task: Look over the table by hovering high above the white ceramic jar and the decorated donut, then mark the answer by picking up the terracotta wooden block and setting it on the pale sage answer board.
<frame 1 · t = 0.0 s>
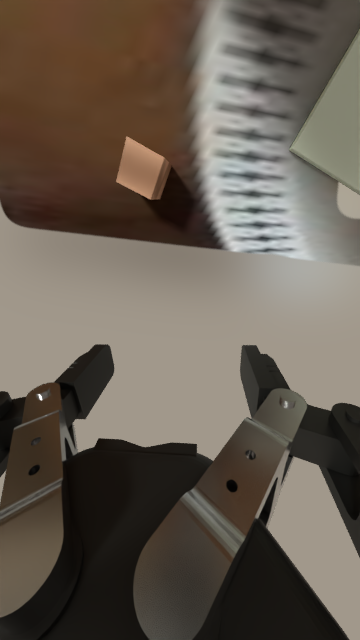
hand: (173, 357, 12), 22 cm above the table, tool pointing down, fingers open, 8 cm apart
terracotta block: (151, 175, 26), on the table
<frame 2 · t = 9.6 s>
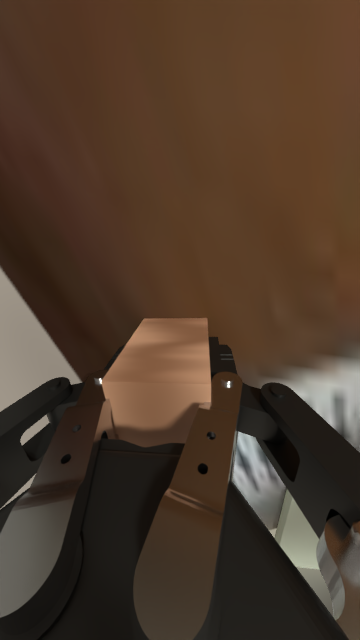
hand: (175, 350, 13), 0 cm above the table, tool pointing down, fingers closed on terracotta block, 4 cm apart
answer board: (355, 529, 19), on the table
terracotta block: (176, 346, 13), on the table, touching gripper
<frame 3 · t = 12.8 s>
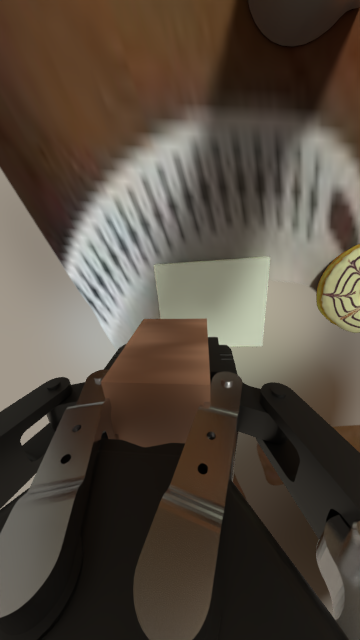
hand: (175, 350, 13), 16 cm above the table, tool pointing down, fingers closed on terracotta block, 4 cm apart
decorated donut: (356, 282, 25), on the table
answer board: (210, 305, 28), on the table
terracotta block: (176, 346, 14), point 15 cm above the table, touching gripper
when the fingers open (3 cm above the table, at t = 15.9 s): terracotta block drops 1 cm, resting on answer board.
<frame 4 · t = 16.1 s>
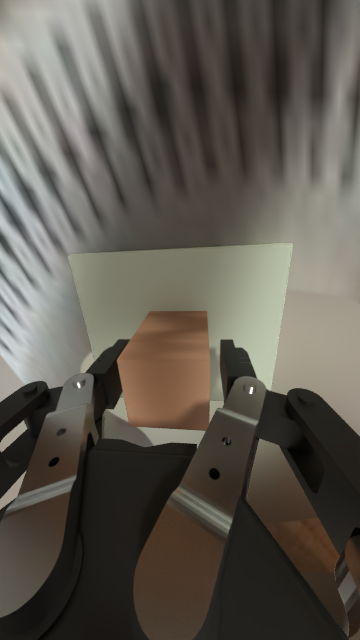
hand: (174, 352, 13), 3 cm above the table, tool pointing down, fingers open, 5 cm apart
answer board: (180, 330, 16), on the table
terracotta block: (179, 336, 15), point 1 cm above the table, touching answer board
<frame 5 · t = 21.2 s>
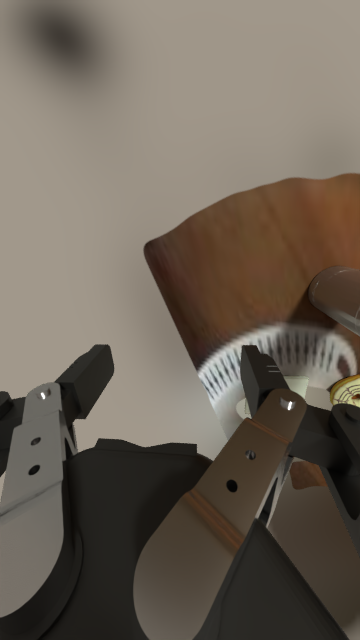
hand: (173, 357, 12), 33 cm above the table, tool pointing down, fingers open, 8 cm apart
decorated donut: (349, 389, 51), on the table
answer board: (273, 394, 53), on the table
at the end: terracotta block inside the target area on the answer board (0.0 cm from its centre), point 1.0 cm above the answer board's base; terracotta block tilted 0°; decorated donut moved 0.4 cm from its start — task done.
